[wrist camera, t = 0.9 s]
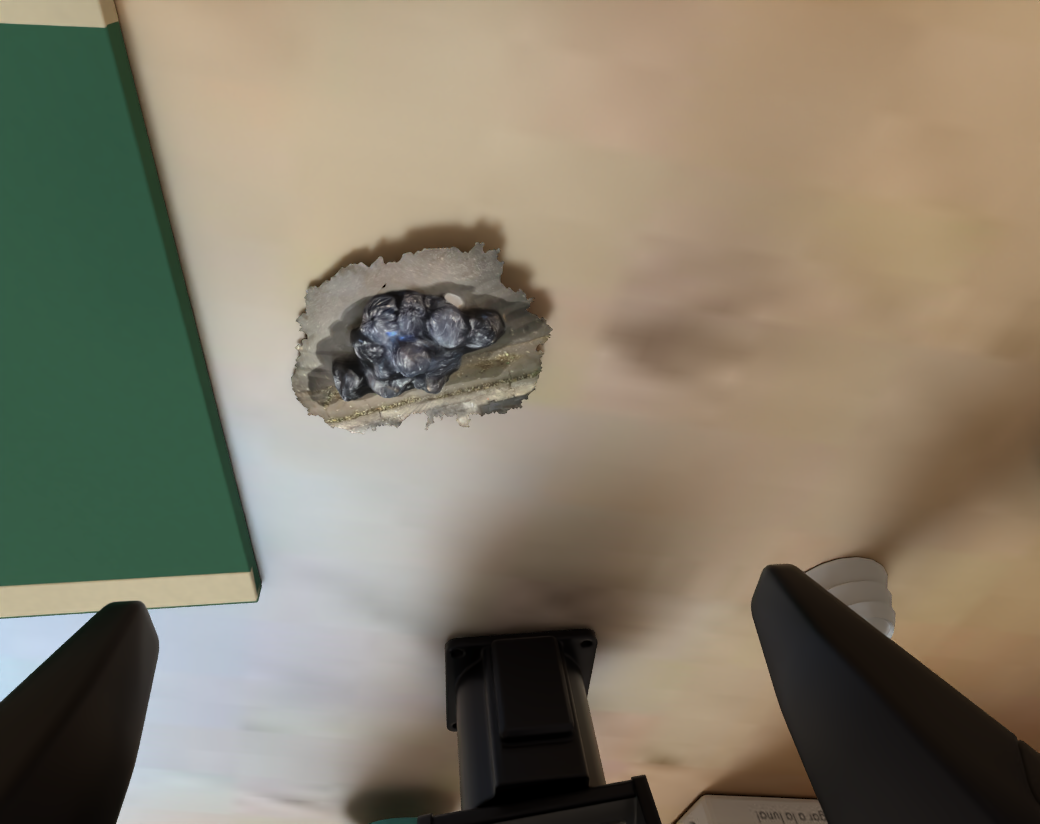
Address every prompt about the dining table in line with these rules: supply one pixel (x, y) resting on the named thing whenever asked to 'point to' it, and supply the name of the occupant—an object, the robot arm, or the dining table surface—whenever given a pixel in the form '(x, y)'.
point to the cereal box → (753, 811)
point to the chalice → (859, 589)
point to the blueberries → (417, 341)
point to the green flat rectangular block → (99, 345)
